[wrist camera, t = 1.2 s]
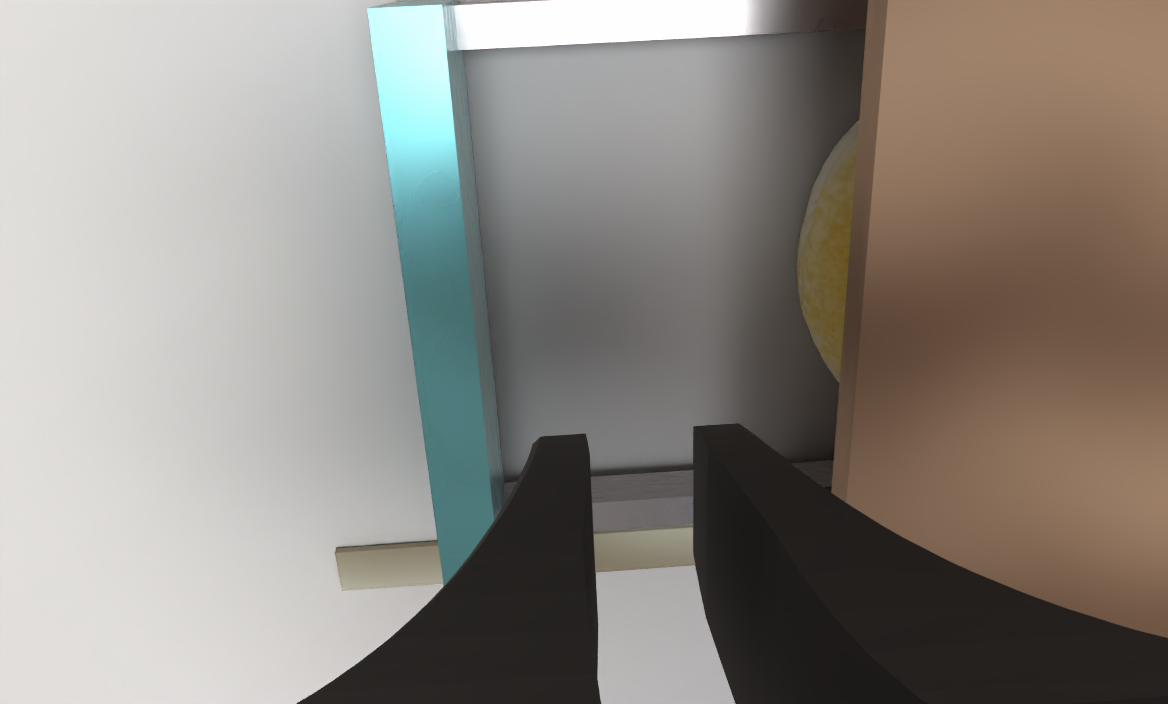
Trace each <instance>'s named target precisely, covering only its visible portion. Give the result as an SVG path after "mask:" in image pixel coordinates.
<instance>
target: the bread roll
mask: <svg viewBox="0 0 1168 704" xmlns="http://www.w3.org/2000/svg"><path fill="white" fill-rule="evenodd" d="M858 130H859V120H858V121H857V122H856V123H855V124H854V125H853V126H852V127H851V128H850V129H849V131H848V132H847V133H846V134H845V135H844V136H843V137H842V138H841V139H840V140H839V142H838V143H837V144H836V146H835V147H834V148H833V150H832V151H831V153H830V154H829V156H828V158H827V160H826V162H825V163H824V165H823V167H822V169H821V171H820V173H819V175H818V177H817V179H816V181H815V183H814V185H813V188H812V191H811V194H810V197H809V201H808V206H807V210H806V214H805V217H804V221H803V225H802V228H801V232H800V239H799V246H798V253H797V282H798V291H799V297H800V303H801V309H802V313H803V316H804V318H805V321H806V324H807V326H808V328H809V330H810V333H811V336H812V337H811V339H812V340H813V341H814V343H815V345H816V347H817V349H818V350H819V352H820V354H821V357H822V359H823V361H824V362H825V364H826V365H827V367H828V368H829V370H830V371H831V373H832V374H833V376H834V377H835V379H836V380H837V381H838V382H839V383H840V370H841V357H842V343H843V330H844V317H845V303H846V290H847V277H848V263H849V250H850V237H851V223H852V210H853V197H854V183H855V170H856V157H857V143H858Z"/></svg>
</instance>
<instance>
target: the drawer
mask: <svg viewBox="0 0 1168 704" xmlns="http://www.w3.org/2000/svg"><path fill="white" fill-rule="evenodd" d="M367 10H368V18H369V26H370V33H371V41H372V48H373V56H374V63H375V71H376V78H377V86H378V94H379V101H380V109H381V116H382V124H383V131H384V139H385V146H386V154H387V162H388V169H389V177H390V184H391V192H392V199H393V207H394V214H395V222H396V230H397V237H398V245H399V252H400V260H401V267H402V275H403V282H404V290H405V298H406V305H407V313H408V320H409V328H410V335H411V343H412V350H413V358H414V365H415V373H416V381H417V388H418V396H419V403H420V411H421V418H422V426H423V433H424V441H425V449H426V456H427V464H428V471H429V479H430V486H431V494H432V501H433V509H434V517H435V524H436V532H437V539H438V547H439V554H440V562H441V569H442V577H443V585H444V586H445V584H446V583H447V582H448V581H449V580H450V579H451V578H452V577H453V575H454V574H455V573H456V572H457V571H458V569H459V568H460V567H461V566H462V564H463V563H464V562H465V561H466V559H467V558H468V557H469V556H470V554H471V553H472V552H473V550H474V549H475V547H476V546H477V545H478V543H479V542H480V540H481V539H482V538H483V536H484V535H485V533H486V532H487V530H488V529H489V528H490V526H491V525H492V523H493V522H494V520H495V519H496V517H497V516H498V514H499V513H500V511H501V509H502V507H503V506H504V504H505V502H506V501H507V499H508V497H509V495H510V494H511V492H512V490H513V489H514V487H515V485H516V483H517V482H509V483H504V478H503V468H502V457H501V446H500V436H499V425H498V414H497V404H496V393H495V383H494V372H493V361H492V351H491V340H490V330H489V319H488V308H487V298H486V287H485V277H484V266H483V255H482V245H481V234H480V223H479V213H478V202H477V192H476V181H475V170H474V160H473V149H472V139H471V128H470V117H469V107H468V96H467V85H466V75H465V64H464V54H463V50H471V49H490V48H509V47H528V46H547V45H567V44H586V43H605V42H624V41H643V40H662V39H681V38H700V37H719V36H738V35H757V34H776V33H795V32H814V31H833V30H852V29H866V23H867V10H868V0H513V1H494V2H474V3H459V1H458V0H407V1H396V2H392V3H388V4H384V5H380V6H376V7H372V8H367ZM833 463H834V460H828V461H813V462H799V463H791V464H792V465H794V466H795V467H796V468H798V469H799V470H800V471H802V472H803V473H804V474H806V475H807V476H809V477H810V478H811V479H813V480H814V481H815V482H817V483H818V484H820V485H821V486H822V487H824V488H825V489H827V490H828V491H829V492H831V490H832V477H833ZM591 492H592V512H593V531H604V530H618V529H632V528H647V527H661V526H675V525H689V524H693V470H683V471H668V472H654V473H639V474H625V475H610V476H596V477H591Z"/></svg>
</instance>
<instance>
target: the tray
mask: <svg viewBox="0 0 1168 704" xmlns="http://www.w3.org/2000/svg"><path fill="white" fill-rule="evenodd" d="M831 493H832V494H834V495H835V496H837V497H838V498H840V499H841V500H843V501H844V502H846V503H847V504H849V505H850V506H852V507H854V508H855V509H857V510H858V511H860V512H861V513H863V514H865V515H866V516H868V517H869V518H871V519H873V520H874V521H876V522H877V523H879V524H881V525H882V526H884V527H886V528H887V529H889V530H891V531H893V532H894V533H896V534H898V535H900V536H902V537H903V538H905V539H907V540H909V541H911V542H913V543H915V544H917V545H919V546H921V547H923V548H925V549H927V550H929V551H930V552H932V553H934V554H936V555H938V556H940V557H942V558H944V559H946V560H948V561H950V562H952V563H955V564H957V565H959V566H961V567H963V568H966V569H968V570H970V571H972V572H974V573H977V574H979V575H982V576H984V577H986V578H989V579H991V580H994V581H996V582H999V583H1001V584H1003V585H1006V586H1008V587H1011V588H1013V589H1016V590H1018V591H1021V592H1023V593H1026V594H1028V595H1031V596H1034V597H1036V598H1039V599H1042V600H1045V601H1048V602H1050V603H1053V604H1056V605H1059V606H1061V607H1064V608H1067V609H1070V610H1074V611H1077V612H1080V613H1083V614H1086V615H1089V616H1092V617H1096V618H1099V619H1102V620H1105V621H1108V622H1111V623H1114V624H1118V625H1121V626H1124V627H1128V628H1131V629H1134V630H1138V631H1142V632H1146V633H1150V634H1154V635H1158V636H1162V637H1166V638H1168V0H868V10H867V23H866V37H865V50H864V63H863V77H862V90H861V103H860V117H859V130H858V143H857V157H856V170H855V183H854V197H853V210H852V223H851V237H850V250H849V263H848V277H847V290H846V303H845V317H844V330H843V343H842V357H841V370H840V383H839V397H838V410H837V423H836V437H835V450H834V463H833V477H832V490H831ZM593 533H594V553H595V572H606V571H620V570H634V569H648V568H661V567H675V566H689V565H695V561H694V556H693V524H689V525H675V526H661V527H647V528H632V529H618V530H604V531H593ZM335 556H336V561H337V567H338V572H339V577H340V582H341V588H342V591H344V590H358V589H372V588H386V587H399V586H413V585H427V584H441V583H443V577H442V569H441V562H440V554H439V547H438V541H432V542H418V543H403V544H389V545H375V546H361V547H347V548H336V551H335Z"/></svg>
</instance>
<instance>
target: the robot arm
mask: <svg viewBox="0 0 1168 704" xmlns="http://www.w3.org/2000/svg"><path fill="white" fill-rule="evenodd" d="M693 556H694V561H695V566H696V571H697V576H698V581H699V586H700V591H701V596H702V601H703V605H704V610H705V615H706V619H707V622H708V625H709V628H710V631H711V634H712V637H713V640H714V642H715V645H716V648H717V651H718V654H719V657H720V660H721V663H722V666H723V669H724V672H725V675H726V677H727V680H728V683H729V686H730V689H731V692H732V695H733V698H734V701H735V703H736V704H1168V638H1166V637H1162V636H1158V635H1154V634H1150V633H1146V632H1142V631H1138V630H1134V629H1131V628H1128V627H1124V626H1121V625H1118V624H1114V623H1111V622H1108V621H1105V620H1102V619H1099V618H1096V617H1092V616H1089V615H1086V614H1083V613H1080V612H1077V611H1074V610H1070V609H1067V608H1064V607H1061V606H1059V605H1056V604H1053V603H1050V602H1048V601H1045V600H1042V599H1039V598H1036V597H1034V596H1031V595H1028V594H1026V593H1023V592H1021V591H1018V590H1016V589H1013V588H1011V587H1008V586H1006V585H1003V584H1001V583H999V582H996V581H994V580H991V579H989V578H986V577H984V576H982V575H979V574H977V573H974V572H972V571H970V570H968V569H966V568H963V567H961V566H959V565H957V564H955V563H952V562H950V561H948V560H946V559H944V558H942V557H940V556H938V555H936V554H934V553H932V552H930V551H929V550H927V549H925V548H923V547H921V546H919V545H917V544H915V543H913V542H911V541H909V540H907V539H905V538H903V537H902V536H900V535H898V534H896V533H894V532H893V531H891V530H889V529H887V528H886V527H884V526H882V525H881V524H879V523H877V522H876V521H874V520H873V519H871V518H869V517H868V516H866V515H865V514H863V513H861V512H860V511H858V510H857V509H855V508H854V507H852V506H850V505H849V504H847V503H846V502H844V501H843V500H841V499H840V498H838V497H837V496H835V495H834V494H832V493H831V492H829V491H828V490H827V489H825V488H824V487H822V486H821V485H820V484H818V483H817V482H815V481H814V480H813V479H811V478H810V477H809V476H807V475H806V474H804V473H803V472H802V471H800V470H799V469H798V468H796V467H795V466H794V465H792V464H791V463H790V462H789V461H787V460H786V459H785V458H783V457H782V456H781V455H780V454H778V453H777V452H776V451H774V450H773V449H772V448H771V447H769V446H768V445H767V444H765V443H764V442H763V441H762V440H760V439H759V438H758V437H757V436H755V435H754V434H753V433H751V432H750V431H749V430H747V429H746V428H745V427H743V426H742V425H740V424H739V423H737V424H722V425H707V426H693ZM597 666H598V614H597V593H596V573H595V553H594V533H593V512H592V492H591V472H590V453H589V447H588V442H587V437H586V434H573V435H558V436H544V437H540V438H539V439H538V440H537V441H536V442H535V443H534V444H533V445H532V449H531V452H530V455H529V457H528V460H527V462H526V465H525V467H524V469H523V471H522V473H521V475H520V477H519V479H518V481H517V483H516V485H515V487H514V489H513V490H512V492H511V494H510V495H509V497H508V499H507V501H506V502H505V504H504V506H503V507H502V509H501V511H500V513H499V514H498V516H497V517H496V519H495V520H494V522H493V523H492V525H491V526H490V528H489V529H488V530H487V532H486V533H485V535H484V536H483V538H482V539H481V540H480V542H479V543H478V545H477V546H476V547H475V549H474V550H473V552H472V553H471V554H470V556H469V557H468V558H467V559H466V561H465V562H464V563H463V564H462V566H461V567H460V568H459V569H458V571H457V572H456V573H455V574H454V575H453V577H452V578H451V579H450V580H449V581H448V582H447V583H446V584H445V586H444V587H443V588H442V589H441V590H440V591H439V592H438V593H437V594H436V595H435V597H434V598H433V599H432V600H431V601H430V602H429V603H428V604H427V605H426V606H425V607H424V608H422V609H421V610H420V611H419V612H418V613H417V614H416V615H415V616H414V617H413V618H412V619H411V620H410V621H409V622H408V623H406V624H405V625H404V626H403V627H402V628H401V629H400V630H399V631H398V632H396V633H395V634H394V635H393V636H392V637H391V638H390V639H388V640H387V641H386V642H385V643H384V644H382V645H381V646H380V647H378V648H377V649H376V650H375V651H373V652H372V653H371V654H369V655H368V656H367V657H365V658H364V659H363V660H361V661H360V662H359V663H357V664H356V665H355V666H353V667H352V668H350V669H349V670H347V671H346V672H345V673H343V674H342V675H340V676H339V677H338V678H336V679H335V680H333V681H332V682H330V683H329V684H327V685H326V686H324V687H323V688H321V689H320V690H318V691H317V692H315V693H314V694H312V695H310V696H308V697H307V698H305V699H303V700H302V701H300V702H298V703H297V704H601V701H600V694H599V687H598V680H597Z"/></svg>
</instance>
